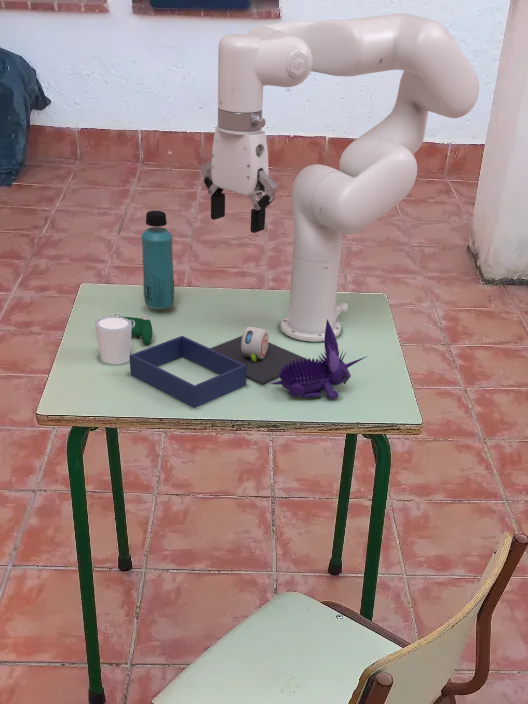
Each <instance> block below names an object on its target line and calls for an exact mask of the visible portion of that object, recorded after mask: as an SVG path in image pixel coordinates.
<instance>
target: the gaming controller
mask: <svg viewBox="0 0 528 704" xmlns="http://www.w3.org/2000/svg"><path fill="white" fill-rule="evenodd" d="M114 316H117V317H123V318H126V319H129V320H130V321H131V323H132V330H131V337H136V338H141V339H142V342H143V345H146V346H149V345H150V344H151V342H152V339H153V325H152V322H151V320H150V318H149V317H148V316H147V315H145V314H143V315H142V317H141V318H140V317H134V316H133V317H132V316H122V315H121V313H119V312H116V313H115V314H114Z"/></svg>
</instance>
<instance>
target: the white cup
mask: <svg viewBox="0 0 528 704" xmlns="http://www.w3.org/2000/svg"><path fill="white" fill-rule="evenodd" d="M123 317H124V316H121V317H117V316H115V315H114V316H113V315H111V316H104V317H101V318H98V319H97V320H96V321H95V322H94V326H95V331H96V332H95V333H96V338H97V344H98V351H99V355H100V360H101V362H102V363H105V364H107V365H123V364H126V363H129V362H130V355H131V351H132V350H131V349H132V336H131V330H132V323H131V321H130V320H129V319H126V318H123Z"/></svg>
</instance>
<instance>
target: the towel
mask: <svg viewBox="0 0 528 704" xmlns="http://www.w3.org/2000/svg"><path fill="white" fill-rule="evenodd" d="M242 336H243V335H241V336H238V337H236V338H234V339H230V340H228V341H225V342H224V343H221V344H218V345H216V346H215V345H214V346H213V347H211V348H210V347H209V348H210V349H212V350H214V351H216V352H219V353H221V354H223V355H225V356H227V357H229V358H232V359H234V360H236V361H238V362H240V363H242V364H245V365H247V371H246V379H248V380H251V381H253V382H255V383H258V384H259V385H262V386H263V385H265V384H267V383H268V384H269V383H271V382H272V381H274V380H277V379H279V378H280V376H279V374H280V371H281V368H282V369H283V368H284V367H283V365H284V366H285V368H286V363H287V365H288V366H289V361H290V362H291V364H292V366H293V363H292V362H293V360H294V362H295V364H296V359H298V361H299V363H300V358H301V359H302V360H303V363H304V359H305V358H306V357H303V356H302V355H299V354H297V353H294V352H292V351H290V350H287V349H285V348H282V347H280V346H278V345H276V344H274V343H272V342H269V341H268V348H267V352H266V355H265V357H264V358H263V359H261V360H259V359H257V361H256V362H252V360H251V358H249V357H245V356H243V354H242V352H241V341H242ZM308 359H309V358H306V360H307V362H308ZM279 370H280V371H279ZM283 370H284V369H283ZM281 372H282V371H281ZM278 373H279V374H278ZM280 375H281V374H280Z"/></svg>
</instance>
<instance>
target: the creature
mask: <svg viewBox="0 0 528 704" xmlns="http://www.w3.org/2000/svg"><path fill="white" fill-rule="evenodd" d="M323 347H324V354H323V353H322V352H320V355H318V354H317V358H312V359H311V358H310V357H308V358H306V357H304V358H305V359H304V363H303V360H302V359H301V358H300V363H299V361H298V359H296V364H295V362H294V360H293V362H292V363H293V366H292V364H291V362H290V361H289V366H288V365H287V363H286V368H285V366H284V365H283V367H284V368H283V369H284V370H283V369H282V368H281V371H282V372H281V371H280V370H279V371H280V374H281V375H280V374H279V373H278V374H279V376H280V377H279V378H280V380H277V381H275V382H274V381H273V382H270V385H281V386H282V387H283V388H284V389H285V390H286V391H287V392H288V394H289V395H290V397H294V398H305V399H312V398H318V397H320V396H322V397H323V396H324V394H323V393H325V395H326V397H327V398H328V399H330V400H335V399H337V398H338V397H342V398H343V396H342V395H340V393H339V392H340V390H338V391H336V390H335V389H334V387H333V386H339V385H341V384H343V385H346V383H347V382H348V381H349V379H351V373H350V371H349V368H350V367H352V366H353V365H355V364H357V363H358V362H360V361H363V359H366V358H368V355H366V356H364V357H362V358H358V359H356V360H353V361H351V362H349V363H346V362H345V361H343V360H344V358H345V356H346V354H347V352H345V353H344V354H343V352H344V350H342V351H341V352H340V351H339V343H338V341H337V337H335V334H334V332H333V330H332V328H331V326H330V324H329V321H328V319H327V322H326V329H325V341H324V346H323ZM340 353H341V354H340ZM342 355H343V356H342ZM306 359H308V362H307V360H306ZM321 392H323V393H321ZM322 394H323V395H322Z"/></svg>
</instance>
